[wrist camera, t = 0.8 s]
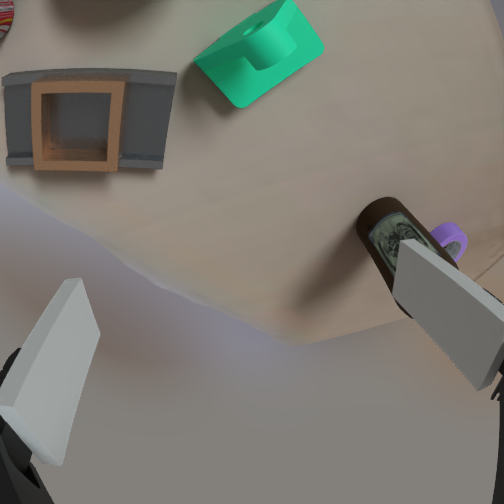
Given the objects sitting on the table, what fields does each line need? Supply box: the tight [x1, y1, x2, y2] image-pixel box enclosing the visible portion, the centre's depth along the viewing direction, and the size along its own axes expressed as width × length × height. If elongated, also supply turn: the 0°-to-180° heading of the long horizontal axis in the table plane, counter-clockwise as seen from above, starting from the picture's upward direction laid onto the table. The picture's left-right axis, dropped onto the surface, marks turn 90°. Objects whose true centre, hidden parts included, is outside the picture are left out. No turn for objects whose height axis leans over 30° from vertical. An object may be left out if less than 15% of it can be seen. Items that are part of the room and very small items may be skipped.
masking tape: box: [430, 222, 467, 263], centre depth 59 cm, size 12×12×4 cm
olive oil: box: [356, 197, 459, 319], centre depth 43 cm, size 11×11×25 cm
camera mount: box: [193, 0, 324, 108], centre depth 26 cm, size 12×8×10 cm, turn 127°
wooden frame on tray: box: [2, 68, 177, 172], centre depth 28 cm, size 20×11×4 cm, turn 75°
